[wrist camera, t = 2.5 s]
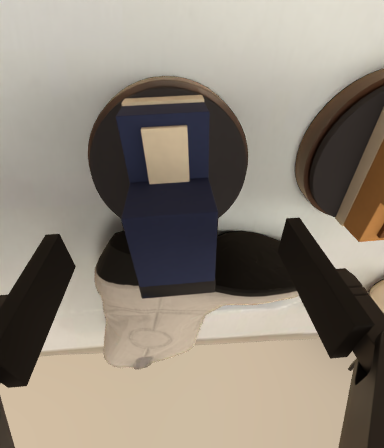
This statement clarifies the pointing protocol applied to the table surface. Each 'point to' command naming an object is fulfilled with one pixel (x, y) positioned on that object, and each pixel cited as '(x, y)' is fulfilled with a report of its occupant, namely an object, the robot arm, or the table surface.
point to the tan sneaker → (353, 169)
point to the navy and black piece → (169, 184)
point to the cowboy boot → (182, 297)
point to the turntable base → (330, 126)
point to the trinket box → (378, 294)
